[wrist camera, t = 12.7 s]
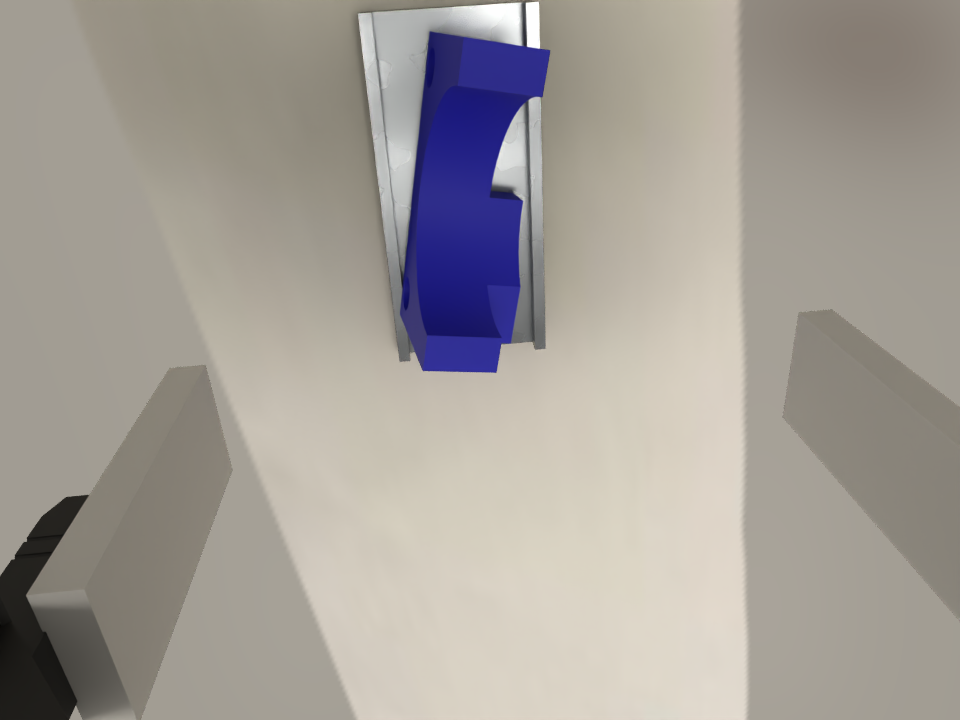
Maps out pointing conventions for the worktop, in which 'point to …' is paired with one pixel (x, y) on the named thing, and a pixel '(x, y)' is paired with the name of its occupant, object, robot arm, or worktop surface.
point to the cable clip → (465, 203)
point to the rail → (395, 128)
